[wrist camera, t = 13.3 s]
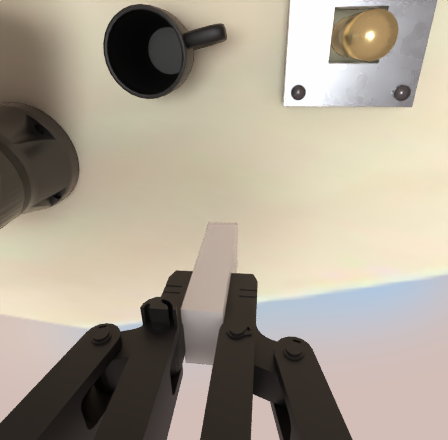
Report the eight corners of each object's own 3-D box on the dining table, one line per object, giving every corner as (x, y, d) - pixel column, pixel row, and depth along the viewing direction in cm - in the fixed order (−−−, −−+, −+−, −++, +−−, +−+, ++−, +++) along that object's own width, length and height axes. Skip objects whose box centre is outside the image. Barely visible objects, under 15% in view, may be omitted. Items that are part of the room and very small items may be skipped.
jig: (282, 101, 42) (284, 109, 37) (291, -40, 36) (296, -53, 30) (401, 102, 41) (420, 111, 35) (433, -45, 34) (463, -60, 29)
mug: (240, 73, 41) (233, 81, 33) (148, 93, 44) (119, 106, 35) (225, -6, 38) (214, -19, 29) (126, 21, 40) (89, 16, 32)
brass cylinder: (328, 56, 39) (346, 61, 31) (333, 16, 38) (353, 8, 29) (364, 56, 39) (392, 61, 30) (371, 15, 37) (403, 8, 28)
